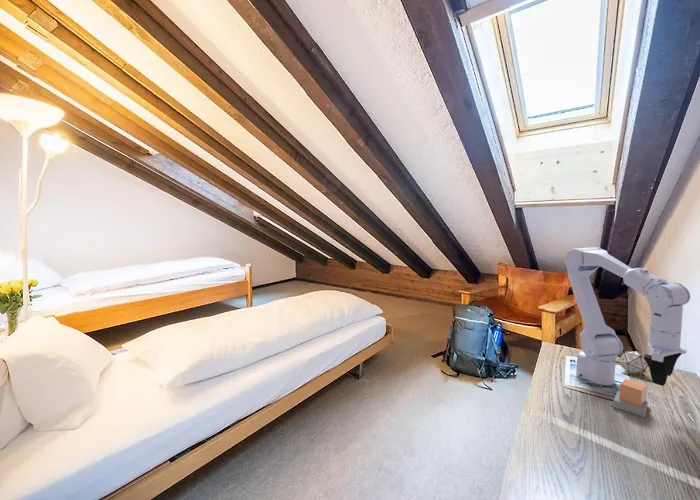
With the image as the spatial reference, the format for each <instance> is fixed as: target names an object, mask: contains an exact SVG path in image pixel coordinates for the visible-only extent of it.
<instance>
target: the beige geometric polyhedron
mask: <svg viewBox="0 0 700 500" xmlns="http://www.w3.org/2000/svg"><path fill="white" fill-rule="evenodd" d="M620 355H621V356H620V357H619V358H618V360H615V364H618V365H620V367H621V368H622V369H624V371H626V373H627V376H628V377H629V376H631V375H637V374H638V375H639V374H640V375H642V376H645V375H646V374H645V373H647V371H646V370H647V369H648V368H649V367H648V364H647V363H646V361H645V359H644V355H642V354H641V353H640V352H639V348H638V349H636V350H635V351H633V350H632V351H625V350H624V349H623V351H622V352H621V353H620Z"/></svg>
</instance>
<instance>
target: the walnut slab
mask: <svg viewBox="0 0 700 500" xmlns="http://www.w3.org/2000/svg"><path fill="white" fill-rule="evenodd" d="M613 404H614V402H613V403H612V404H611V405H610V407H612V408H615V407H613ZM651 408H652V407H651V406H648V407H647V411H646V415H645V417H643V416H640V415H637V414H634V413H631V412H628V411H625V410H622V409H618V408H615V409H617V410H619V411H623V412H626V413H628V414H630V415H633V416H637V417H640V418H642V419H646V418H647V416H648V414H649V412H650V410H651Z"/></svg>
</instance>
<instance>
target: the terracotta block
mask: <svg viewBox="0 0 700 500" xmlns="http://www.w3.org/2000/svg"><path fill="white" fill-rule="evenodd" d="M619 391H620V398H619V399H620V400H623V401H626V402H629V403H631V404H634V405H637V406H640V407H641V406H642V405H643V404H644V403H645V402H646V399H647V395H648V384H645V383H641V382H639V381H635V380H631V379H629V378H625V379H624V380H623V381H622V382H621V383H620V384H619Z"/></svg>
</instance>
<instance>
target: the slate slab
mask: <svg viewBox="0 0 700 500" xmlns="http://www.w3.org/2000/svg"><path fill="white" fill-rule="evenodd" d="M619 398H620V390H617V391H616V393H615V397H614V398H613V403H614V404H613V403H612V404H613V407H612V408H614V407H615V409H617V408H618V409H617V410H620V409H622V410H625V411H628V412H631V413H634V414H637V415H640V416H643V417H645V415H646V411H647V407H649V399H647V398H646V402H645V403H644V404H643V405H642V406H641V407H640V406H637V405H634V404H631V403H629V402H626V401H623V400H620V399H619ZM622 410H621V411H622ZM625 411H624V412H625ZM628 412H627V413H628ZM631 413H630V414H631Z"/></svg>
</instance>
